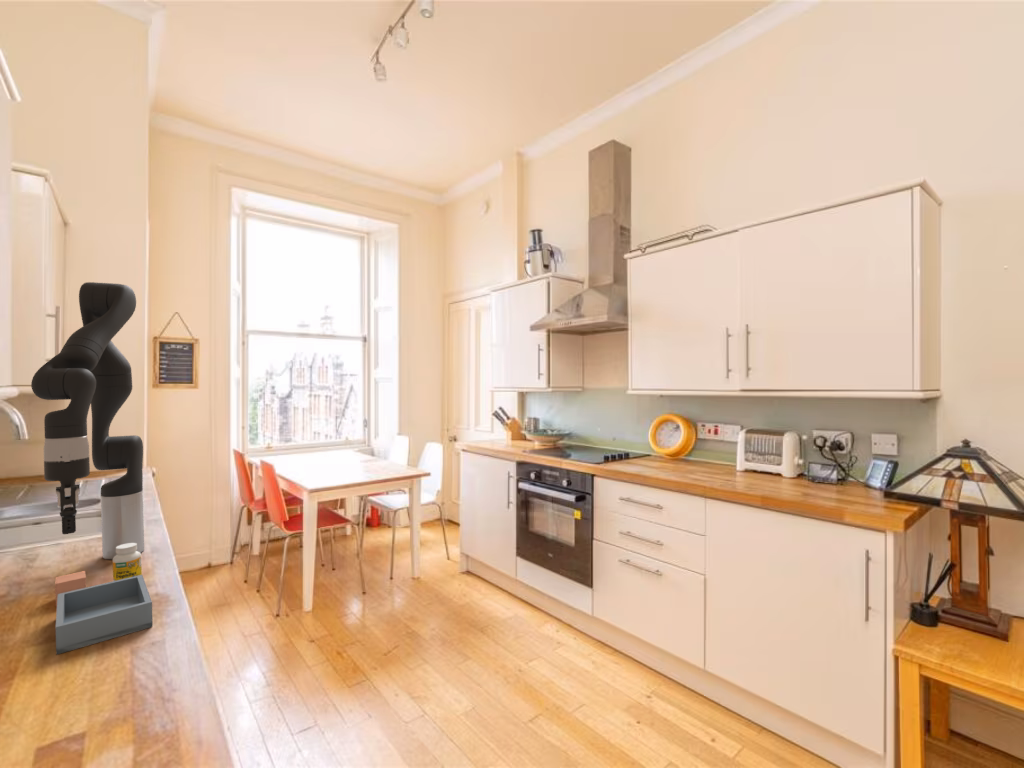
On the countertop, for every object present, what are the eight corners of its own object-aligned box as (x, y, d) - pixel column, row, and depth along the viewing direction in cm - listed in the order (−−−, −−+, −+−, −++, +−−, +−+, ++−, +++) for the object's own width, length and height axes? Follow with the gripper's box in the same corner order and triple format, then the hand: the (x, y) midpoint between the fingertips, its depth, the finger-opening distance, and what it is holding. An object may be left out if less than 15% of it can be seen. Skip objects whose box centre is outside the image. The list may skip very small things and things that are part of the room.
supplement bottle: (142, 578, 120) (141, 540, 119) (141, 586, 115) (139, 546, 115) (114, 583, 117) (113, 544, 116) (111, 592, 112) (110, 551, 112)
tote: (58, 617, 100) (57, 594, 100) (142, 596, 110) (142, 574, 110) (56, 654, 87) (55, 627, 87) (152, 626, 97) (151, 602, 96)
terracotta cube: (56, 598, 109) (55, 576, 109) (85, 591, 113) (85, 570, 113) (55, 606, 106) (55, 584, 106) (86, 599, 109) (85, 577, 109)
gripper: (45, 455, 111) (47, 525, 111) (42, 463, 101) (44, 540, 101) (88, 451, 116) (90, 518, 117) (90, 458, 106) (92, 532, 106)
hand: (69, 528), depth 109 cm, fingers open, 8 cm apart
